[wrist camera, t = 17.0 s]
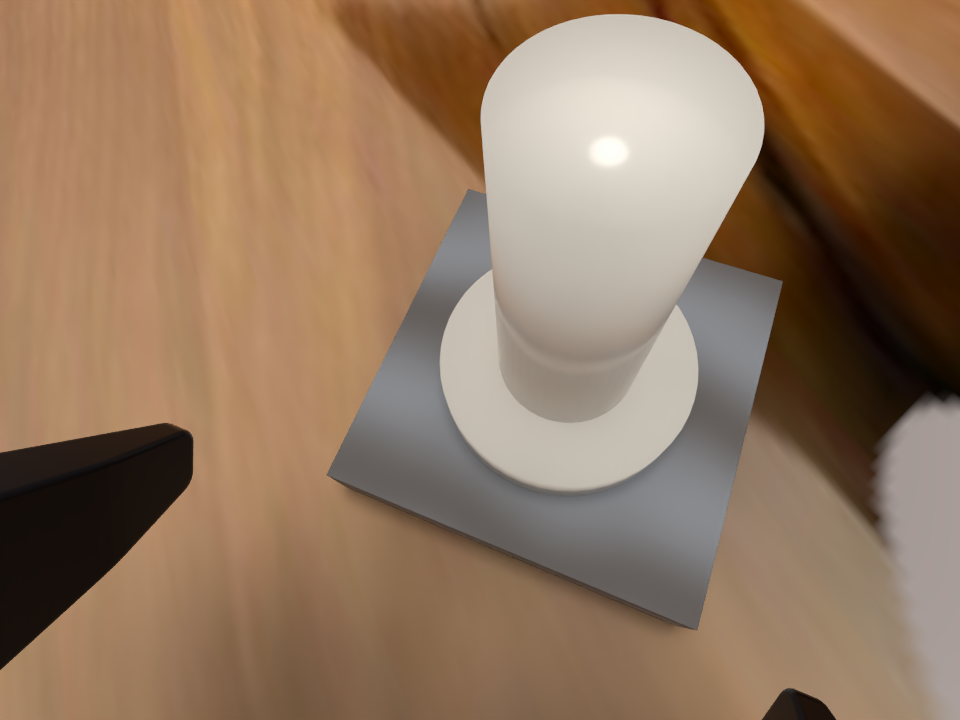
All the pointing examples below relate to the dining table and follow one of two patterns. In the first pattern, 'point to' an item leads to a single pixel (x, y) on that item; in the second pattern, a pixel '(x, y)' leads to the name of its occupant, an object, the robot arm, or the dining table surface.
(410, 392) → the grey block
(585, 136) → the cream cylindrical piece
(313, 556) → the dining table surface
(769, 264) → the dining table surface
